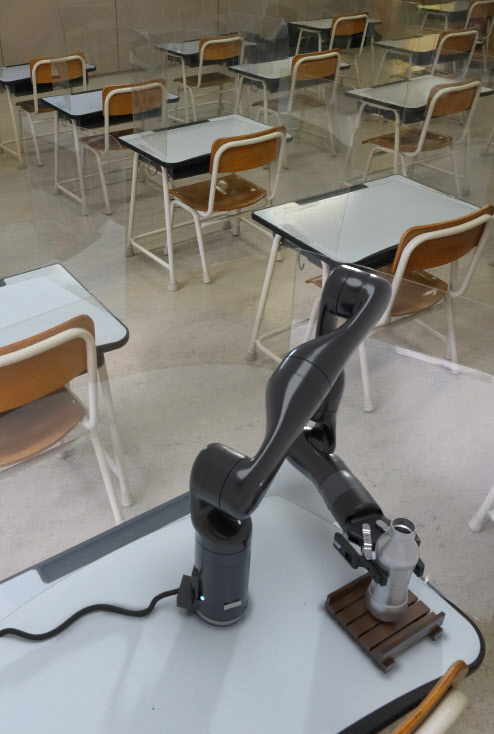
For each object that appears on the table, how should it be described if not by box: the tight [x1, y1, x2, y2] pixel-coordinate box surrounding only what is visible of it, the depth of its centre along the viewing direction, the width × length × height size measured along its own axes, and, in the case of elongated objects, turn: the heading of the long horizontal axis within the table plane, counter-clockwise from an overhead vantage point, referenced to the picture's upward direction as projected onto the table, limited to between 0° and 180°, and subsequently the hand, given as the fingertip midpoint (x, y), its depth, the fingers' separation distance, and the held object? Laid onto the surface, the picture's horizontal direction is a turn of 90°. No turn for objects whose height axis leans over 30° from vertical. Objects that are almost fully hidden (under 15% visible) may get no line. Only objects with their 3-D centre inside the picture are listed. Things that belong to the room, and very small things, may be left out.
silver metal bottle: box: [365, 516, 421, 622], centre depth 109 cm, size 6×7×20 cm
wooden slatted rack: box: [323, 571, 446, 674], centre depth 114 cm, size 14×14×4 cm
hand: (403, 577), depth 107 cm, fingers closed on silver metal bottle, 5 cm apart
